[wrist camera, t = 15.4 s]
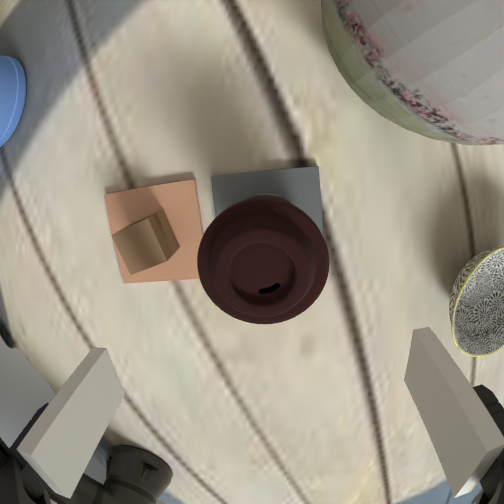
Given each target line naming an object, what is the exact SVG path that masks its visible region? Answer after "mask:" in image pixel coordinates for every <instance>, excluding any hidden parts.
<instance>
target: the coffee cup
mask: <svg viewBox="0 0 504 504" xmlns="http://www.w3.org/2000/svg"><path fill="white" fill-rule="evenodd" d="M197 268H198V274H199V278H200V281H201V284H202V286H203V288H204V290H205V292H206V293H207V295H208V296H209V298H210V299H211V300H212V301H213V303H214V304H215V305H216V306H218V307H219V308H220V309H221V310H222V311H224V312H225V313H227V314H229V315H230V316H232V317H234V318H236V319H239V320H242V321H245V322H249V323H254V324H274V323H279V322H283V321H286V320H289V319H291V318H294V317H296V316H297V315H299V314H301V313H302V312H304V311H305V310H306V309H307V308H309V307H310V306H311V305H312V304H313V303H314V302H315V300H316V299H317V298H318V297H319V295H320V293H321V292H322V290H323V288H324V286H325V283H326V280H327V277H328V272H329V253H328V249H327V245H326V242H325V240H324V238H323V235H322V233H321V232H320V230H319V228H318V227H317V225H316V224H315V222H314V221H313V220H312V219H311V218H310V217H309V216H308V215H307V214H306V213H305V212H304V211H302V210H301V209H299V208H298V207H296V206H295V205H293V204H292V203H290V202H289V201H287V200H286V199H284V198H282V197H280V196H277V195H274V194H259V195H256V196H253V197H250V198H248V199H246V200H243V201H240V202H238V203H236V204H234V205H232V206H230V207H228V208H227V209H225V210H224V211H222V212H221V213H220V214H219V215H218V216H217V217H216V218H215V219H214V220H213V221H212V223H211V224H210V225H209V227H208V228H207V230H206V231H205V233H204V235H203V237H202V239H201V242H200V245H199V249H198V255H197Z"/></svg>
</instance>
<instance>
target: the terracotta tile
mask: <svg viewBox="0 0 504 504" xmlns="http://www.w3.org/2000/svg"><path fill="white" fill-rule="evenodd" d="M104 196H105V202H106V207H107V212H108V217H109V223H110V227H111V232H112V235H113V234H114V233H116V232H118V231H119V230H121V229H123V228H125V227H126V226H128V225H130V224H132V223H134V222H136V221H138V220H140V219H143V218H145V217H147V216H149V215H151V214H154V213H156V212H158V211H160V210H163V209H164V212H165V214H166V216H167V218H168V221H169V223H170V225H171V228H172V230H173V232H174V234H175V236H176V239H177V241H178V243H179V245H180V248H179V249H178V250H177V251H176V252H175V253H174V254H173V256H172V257H171V258H170V259H169V260H168V261H167V262H164V263H161V264H159V265H156V266H154V267H151V268H148V269H146V270H143V271H141V272H138V273H135V274H133V275H130V273H129V271H128V269H127V267H126V265H125V263H124V261H123V259H122V256H121V254H120V252H119V250H118V248H117V246H116V244H115V242H114V246H115V250H116V255H117V259H118V263H119V267H120V271H121V275H122V279H123V283H137V282H154V281H169V280H185V279H199V274H198V268H197V255H198V249H199V245H200V242H201V239H202V237H203V235H204V233H203V227H202V220H201V213H200V207H199V200H198V193H197V186H196V179H191V180H184V181H178V182H171V183H165V184H158V185H152V186H146V187H141V188H135V189H129V190H124V191H119V192H113V193H108V194H105V195H104ZM113 241H114V240H113Z"/></svg>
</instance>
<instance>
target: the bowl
mask: <svg viewBox="0 0 504 504" xmlns="http://www.w3.org/2000/svg"><path fill="white" fill-rule="evenodd" d="M449 312H450V320H451V330H452V336H453V339H454V342H455V344H456V346H457V347H458V349H459V350H460V351H461V352H463V353H464V354H466V355H468V356H473V357H481V356H486V355H490V354H492V353H494V352H496V351H498V350H500V349H501V348H503V347H504V246H503V247H501V248H492V249H488V250H485V251H483V252H481V253H479V254H477V255H476V256H474V257H473V258H472V259H470V260H469V261H468V262H467V263H466V264H465V266H464V267H463V268H462V269H461V271H460V272H459V274H458V276H457V278H456V280H455V282H454V284H453V288H452V291H451V295H450V303H449Z"/></svg>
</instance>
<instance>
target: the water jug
mask: <svg viewBox="0 0 504 504" xmlns="http://www.w3.org/2000/svg"><path fill="white" fill-rule="evenodd" d="M25 98H26V77H25V72H24V70H23V67H22V65H21V64H20V63H19V61H17V60H16V59H15V58H12V57H8V56H0V147H1V146H2V145H3V144H5V143H6V142H7V140H8V139H9V138H10V137H11V135H12V134H13V132H14V131H15V129H16V127H17V125H18V123H19V120H20V118H21V115H22V112H23V108H24V104H25Z"/></svg>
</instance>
